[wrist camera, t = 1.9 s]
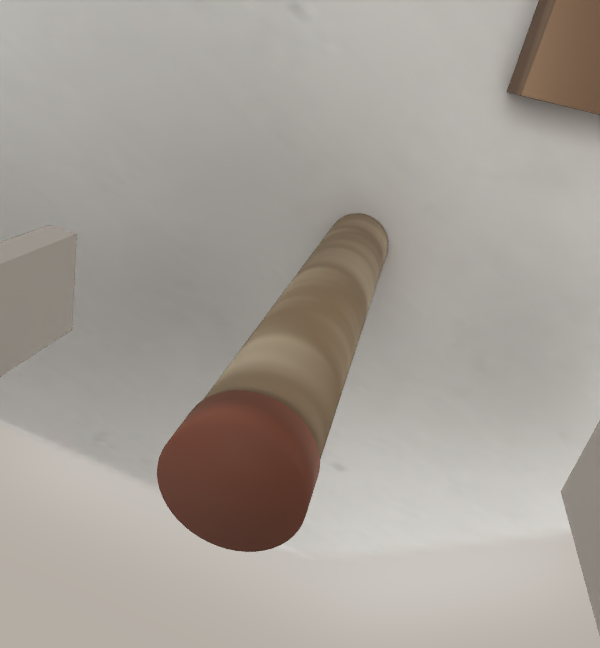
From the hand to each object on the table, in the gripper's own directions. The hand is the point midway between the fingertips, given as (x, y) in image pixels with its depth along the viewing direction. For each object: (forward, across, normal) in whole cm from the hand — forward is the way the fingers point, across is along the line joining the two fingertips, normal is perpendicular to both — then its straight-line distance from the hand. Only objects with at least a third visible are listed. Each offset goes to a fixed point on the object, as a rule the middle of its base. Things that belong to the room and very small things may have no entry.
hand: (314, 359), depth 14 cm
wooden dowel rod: (+10, 0, 0) cm, 10 cm away
